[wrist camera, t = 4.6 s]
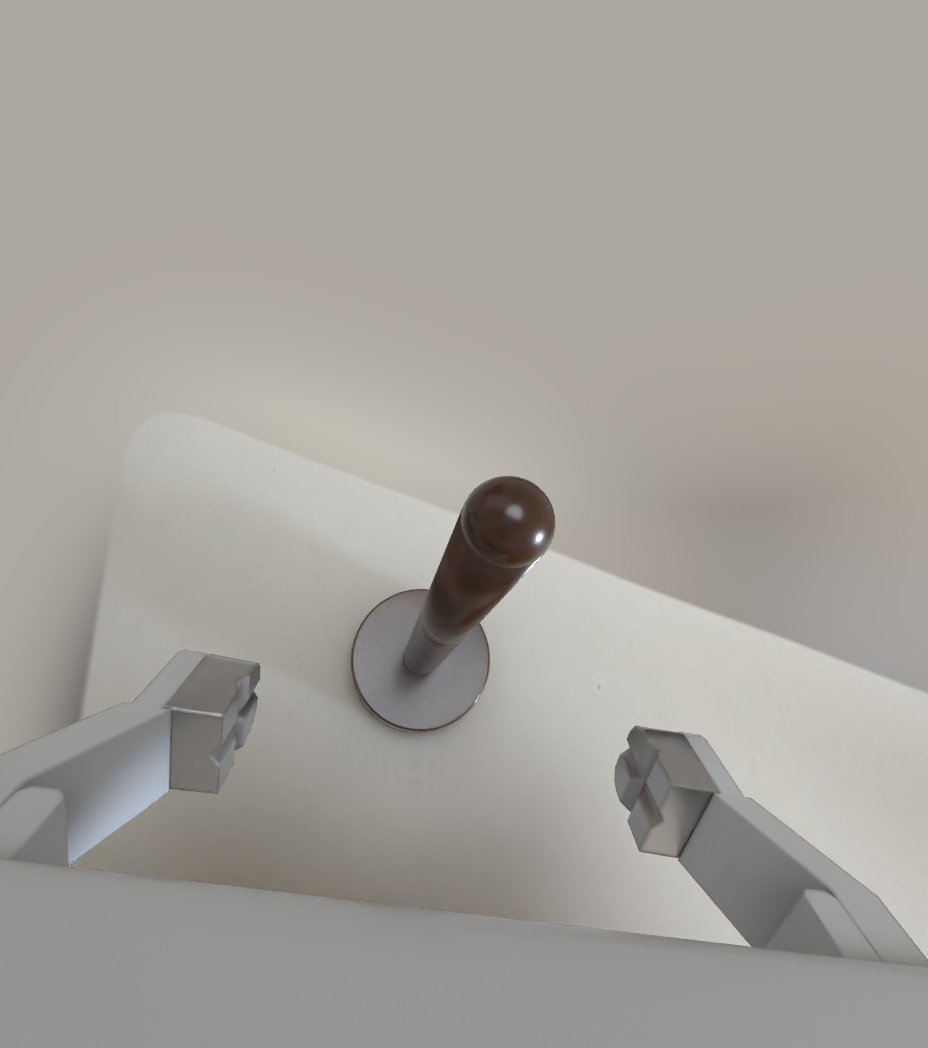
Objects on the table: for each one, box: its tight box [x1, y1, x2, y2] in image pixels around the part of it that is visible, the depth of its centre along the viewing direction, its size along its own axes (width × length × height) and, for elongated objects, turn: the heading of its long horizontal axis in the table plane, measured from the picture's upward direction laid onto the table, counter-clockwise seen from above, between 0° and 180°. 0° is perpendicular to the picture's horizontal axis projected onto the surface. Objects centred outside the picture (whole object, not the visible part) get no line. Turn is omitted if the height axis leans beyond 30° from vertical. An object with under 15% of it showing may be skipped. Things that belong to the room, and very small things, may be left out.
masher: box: [351, 476, 555, 732], centre depth 15 cm, size 6×6×17 cm
